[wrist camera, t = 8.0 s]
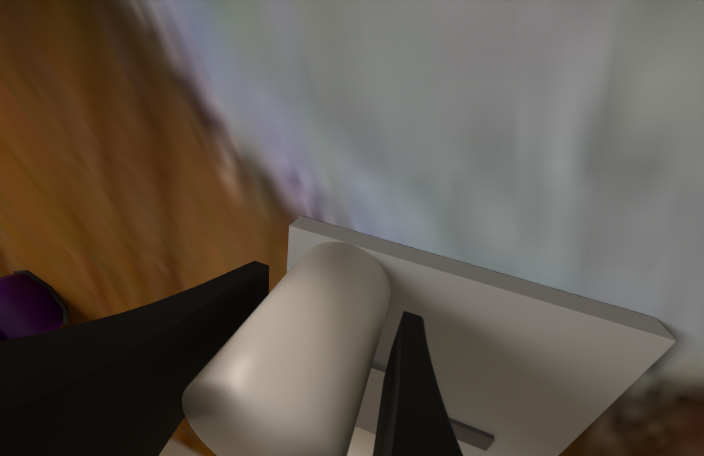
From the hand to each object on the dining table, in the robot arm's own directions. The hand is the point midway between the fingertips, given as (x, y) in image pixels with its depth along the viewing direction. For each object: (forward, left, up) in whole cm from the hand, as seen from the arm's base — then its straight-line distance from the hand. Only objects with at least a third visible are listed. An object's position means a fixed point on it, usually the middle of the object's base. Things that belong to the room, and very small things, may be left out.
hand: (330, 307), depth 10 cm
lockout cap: (0, 0, -1) cm, 1 cm away
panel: (-4, +6, -2) cm, 8 cm away
